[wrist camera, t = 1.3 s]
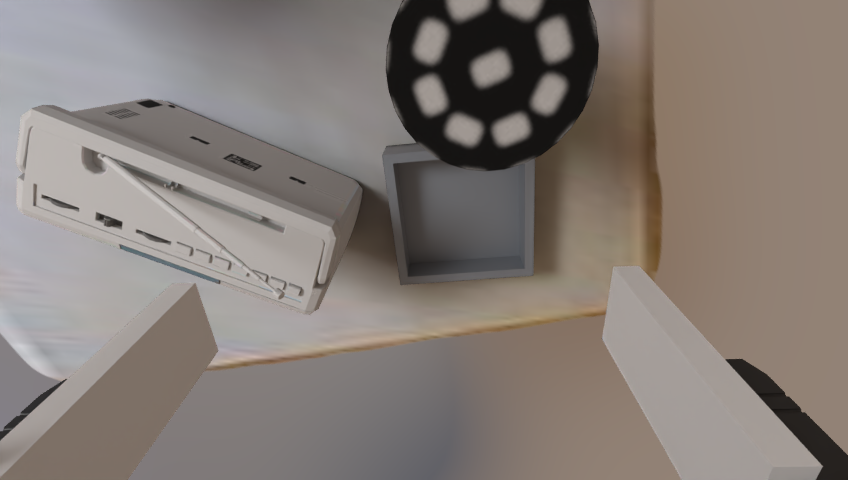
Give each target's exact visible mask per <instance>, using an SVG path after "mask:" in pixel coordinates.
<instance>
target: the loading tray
mask: <svg viewBox="0 0 848 480" xmlns="http://www.w3.org/2000/svg"><path fill="white" fill-rule="evenodd" d="M382 158H383V165H384V172H385V179H386V186H387V193H388V200H389V207H390V214H391V221H392V228H393V235H394V242H395V250H396V257H397V264H398V271H399V278H400V285H406V284H420V283H434V282H449V281H463V280H477V279H491V278H506V277H520V276H533V268H534V193H535V158H534V159H532V160H530V161H528V162H526V163H524V164H522V165H518V166H515V167H511V168H508V169H505V170H495V171H475V170H466V169H463V168H459V167H456V166H453V165H449V164H447V163H445V162H443V161H442V160H440V159H438V158H436V157H434V156H432V155H431V154H430V153H429V152H427V151H426V150H425V149H424V148H422V147H421V146H420V145H419V144H418V143H414V144H403V145H392V146H386V148H385V150H384V152H383V154H382Z"/></svg>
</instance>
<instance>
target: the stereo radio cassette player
mask: <svg viewBox="0 0 848 480" xmlns="http://www.w3.org/2000/svg"><path fill="white" fill-rule="evenodd" d="M16 165H17V167H18V169H19V170H20V171H21V172H22V173H23V174H21V175H20V176H19V177H18V178H17V200H16V205H17V207H18V209H19V211H21V212H22V213H23V214H24V215H27V216H29V217H32V218H35V219H38V220H41V221H43V222H46V223H49V224H52V225H55V226H57V227H60V228H63V229H66V230H69V231H71V232H74V233H77V234H80V235H82V236H85V237H88V238H91V239H94V240H96V241H99V242H102V243H105V244H108V245H110V246H113V247H116V248H119V249H123V250H126V251H128V252H131V253H134V254H137V255H139V256H142V257H145V258H148V259H151V260H153V261H156V262H159V263H162V264H165V265H167V266H170V267H173V268H176V269H178V270H181V271H184V272H187V273H190V274H192V275H195V276H198V277H201V278H203V279H206V280H209V281H212V282H215V283H217V284H221V285H223V286H226V287H229V288H231V289H234V290H237V291H240V292H243V293H245V294H248V295H251V296H254V297H256V298H259V299H262V300H265V301H268V302H270V303H273V304H276V305H279V306H281V307H284V308H287V309H290V310H293V311H296V312H299V313H302V314H308V315H310V314H311V313H312V312H314V311H316V310H317V309H319V306H320V304H321V302H322V300H323V298H324V295H325V293H326V291H327V289H328V287H329V284H330V282H331V280H332V278H333V275H334V273H335V271H336V269H337V267H338V264H339V262H340V260H341V258H342V256H343V253H344V251H345V249H346V247H347V244H348V242H349V239H350V237H351V234H352V231H353V229H354V226H355V222H356V219H357V216H358V212H359V208H360V203H361V199H362V191H363V189H362V188H361V187H360V186H359V184H358V182H357V181H356V180H354V179H351V178H349V177H346V176H344V175H342V174H339V173H337V172H334V171H332V170H330V169H327V168H325V167H322V166H320V165H317V164H315V163H313V162H310V161H308V160H305V159H303V158H301V157H298V156H296V155H293V154H291V153H289V152H286V151H284V150H281V149H279V148H276V147H274V146H272V145H269V144H267V143H264V142H262V141H260V140H257V139H255V138H252V137H250V136H248V135H245V134H243V133H240V132H238V131H235V130H233V129H231V128H228V127H226V126H223V125H221V124H219V123H216V122H214V121H211V120H209V119H207V118H204V117H202V116H199V115H197V114H194V113H192V112H190V111H187V110H185V109H182V108H180V107H178V106H175V105H173V104H170V103H168V102H166V101H163V100H151V99H141V100H135V101H130V102H124V103H118V104H113V105H107V106H101V107H95V108H90V109H84V110H78V111H73V112H70V111H67V110H65V109H62V108H60V107H57V106H55V105H41V106H38V107H35V108H32V109H30V110H29V111H27V112H26V113H25V114H23V115H22V116H21V121H20V130H19V138H18V147H17V155H16Z"/></svg>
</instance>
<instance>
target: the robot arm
mask: <svg viewBox="0 0 848 480" xmlns="http://www.w3.org/2000/svg"><path fill="white" fill-rule="evenodd" d="M602 340H603V342H604V343H605V345H606V347H607V348H608V350H609V352H610V354H611V356H612V357H613V359H614V361H615V363H616V364H617V366H618V368H619V370H620V372H621V373H622V375H623V377H624V379H625V380H626V382H627V384H628V386H629V388H630V389H631V391H632V393H633V395H634V397H635V398H636V400H637V402H638V404H639V405H640V407H641V409H642V411H643V412H644V414H645V416H646V418H647V419H648V421H649V423H650V425H651V426H652V428H653V430H654V432H655V434H656V435H657V437H658V439H659V441H660V443H661V444H662V446H663V448H664V450H665V451H666V453H667V455H668V457H669V458H670V460H671V462H672V464H673V465H674V467H675V469H676V470H677V473H678V474H679V476H680V478H681V480H848V455H847V454H846V453H845V452H844V451H843V450H842V449H841V448H840V447H839V446H838V445H837V444H836V443H835V442H834V441H833V440H832V439H831V438H830V437H829V436H828V435H827V434H826V433H825V432H824V431H823V430H822V429H821V428H820V427H819V426H818V425H817V424H816V423H815V422H814V421H813V420H812V419H811V418H810V417H809V416H807V414H806V413H802V412H801V409H800V407H799V406H798V405H797V404H796V403H795V402H794V401H793V400H792V399H791V398H790V397H786V395H785V392H784V391H783V390H782V389H781V388H780V387H779V386H778V385H777V384H776V383H775V382H774V381H773V380H772V379H771V378H770V377H769V376H768V375H767V374H765V373H764V372H762V371H760V370H759V369H757V368H756V367H754V366H752V365H751V364H749V363H748V362H746V361H744V360H743V359H724V358H723V357H722V356H721V355H720V354H719V352H718V351H717V350H716V349H715V348H714V347H713V346H712V345H711V344H710V343H709V342H708V340H707V339H706V338H705V337H704V336H703V335H702V334H701V333H700V332H699V331H698V330H697V328H696V327H695V326H694V325H693V324H692V323H691V322H690V321H689V320H688V319H687V318H686V317H685V315H684V314H683V313H682V312H681V311H680V310H679V309H678V308H677V307H676V306H675V305H674V303H673V302H672V301H671V300H670V299H669V298H668V297H667V296H666V295H665V294H664V293H663V291H662V290H661V289H660V288H659V287H658V286H657V285H656V284H655V283H654V282H653V280H652V279H651V278H650V277H649V276H648V275H647V274H646V273H645V272H644V271H643V270H642V268H641V267H640V266H618V267H613V272H612V278H611V285H610V291H609V298H608V304H607V310H606V317H605V324H604V330H603V337H602ZM217 352H218V348H217V345H216V342H215V339H214V336H213V333H212V331H211V328H210V325H209V322H208V319H207V316H206V313H205V310H204V307H203V304H202V301H201V298H200V295H199V292H198V289H197V286H196V284H195V283H177V284H171V285H170V286H169V287H168V288H167V289H166V290H165V291H163V292H162V293H161V294H160V295H159V296H158V297H157V298H156V299H155V300H154V301H153V302H151V303H150V304H149V305H148V306H147V307H146V308H145V309H144V310H143V311H142V312H141V313H139V314H138V315H137V316H136V317H135V318H134V319H133V320H132V321H131V322H130V323H128V324H127V325H126V326H125V327H124V328H123V329H122V330H121V331H120V332H119V333H118V334H116V335H115V336H114V337H113V338H112V339H111V340H110V341H109V342H108V343H107V344H105V345H104V346H103V347H102V348H101V349H100V350H99V351H98V352H97V353H96V354H95V355H93V356H92V357H91V358H90V359H89V360H88V361H87V362H86V363H85V364H84V365H83V366H81V367H80V368H79V369H78V370H77V371H76V372H75V373H74V374H73V375H72V376H70V377H69V378H68V379H65V380H63V381H62V382H60V383H59V384H57V385H56V386H54V387H52V388H51V389H49V390H47V391H46V392H44V393H43V394H41V395H40V396H39V397H38V398H36V400H34V401H33V402H32V403H31V404H30V405H29V406H28V407H26V408H25V409H24V410H23V411H22V412H21V415H20V416H16V417H15V418H14V419H13V420H12V421H11V422H10V423H8V424H7V425H6V426H5V427H4V430H3V431H1V432H0V480H128V478H129V477H130V476H131V474H132V472H133V471H134V470H135V468H136V467H137V466H138V464H139V463H140V461H141V460H142V459H143V457H144V456H145V454H146V453H147V451H148V450H149V448H150V447H151V446H152V444H153V443H154V442H155V440H156V439H157V437H158V436H159V434H160V433H161V431H162V430H163V429H164V427H165V426H166V424H167V423H168V422H169V420H170V419H171V417H172V416H173V415H174V413H175V412H176V410H177V409H178V407H179V406H180V404H181V403H182V402H183V400H184V399H185V398H186V396H187V395H188V393H189V391H190V390H191V389H192V388H193V386H194V385H195V383H196V382H197V380H198V379H199V378H200V376H201V375H202V373H203V372H204V371H205V369H206V368H207V366H208V365H209V363H210V362H211V361H212V359H213V358H214V356H215V355H216V353H217Z"/></svg>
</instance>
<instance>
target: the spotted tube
mask: <svg viewBox="0 0 848 480" xmlns="http://www.w3.org/2000/svg"><path fill="white" fill-rule="evenodd" d="M598 49H599V42H598V35H597V27H596V21H595V18H594V15H593V12H592V9H591V6H590V3H589V0H403V1H402V3H401V5H400V8H399V10H398V12H397V14H396V17H395V19H394V21H393V24H392V27H391V32H390V36H389V40H388V45H387V56H386V74H387V81H388V89H389V93H390V96H391V99H392V102H393V105H394V108H395V111H396V113H397V115H398V117H399V119H400V120H401V122H402V124H403V126H404V128H405V129H406V130H407V132H408V133H409V134H410V135H411V136H412V138H413V139H414V140H415V141H416V142H417V143H418V144H419V145H420V146H421V147H422V148H424V149H425V150H426V151H427V152H429V153H430V154H431V155H432V156H434V157H436V158H438V159H440V160H442V161H443V162H445V163H447V164H449V165H453V166H456V167H459V168H463V169H466V170H475V171H495V170H505V169H508V168H511V167H515V166H518V165H522V164H524V163H526V162H528V161H530V160H532V159H534V158H536V157H538V156H540V155H542V154H543V153H544V152H546V151H547V150H548V149H550V148H551V147H552V146H554V145H555V144H556V143H557V142H558V141H559V140H560V139H561V138H562V137H563V136H564V135H565V134H566V133H567V132H568V131H569V130H570V129H571V127H572V126H573V124H574V123H575V121H576V120H577V118H578V117H579V115H580V114H581V112H582V111H583V109H584V107H585V104H586V102H587V100H588V98H589V95H590V93H591V91H592V88H593V84H594V79H595V75H596V71H597V66H598Z"/></svg>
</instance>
